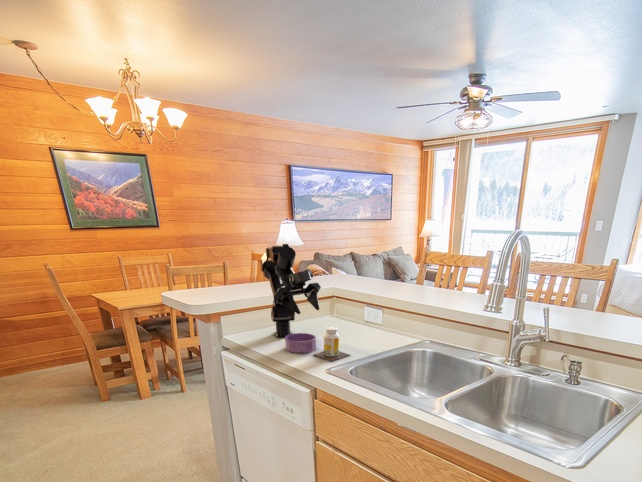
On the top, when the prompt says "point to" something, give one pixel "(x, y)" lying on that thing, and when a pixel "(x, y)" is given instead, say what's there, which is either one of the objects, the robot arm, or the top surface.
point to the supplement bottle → (331, 342)
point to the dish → (300, 342)
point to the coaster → (339, 356)
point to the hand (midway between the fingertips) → (309, 311)
